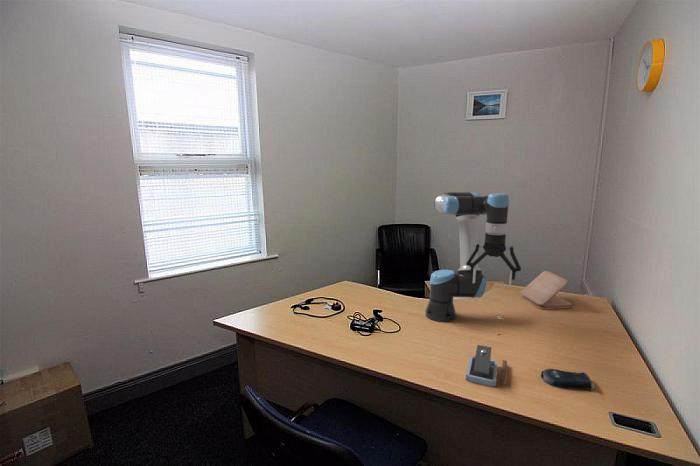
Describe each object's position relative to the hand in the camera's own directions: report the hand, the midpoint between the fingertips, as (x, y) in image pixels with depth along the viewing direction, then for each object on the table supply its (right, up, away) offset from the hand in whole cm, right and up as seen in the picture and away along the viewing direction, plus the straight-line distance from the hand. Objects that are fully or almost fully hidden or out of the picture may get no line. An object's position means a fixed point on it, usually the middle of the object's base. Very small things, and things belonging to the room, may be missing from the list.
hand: (491, 284), depth 146 cm
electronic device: (+19, -33, -17) cm, 42 cm away
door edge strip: (-1, -31, -13) cm, 34 cm away
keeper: (-8, -31, -12) cm, 34 cm away
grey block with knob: (-8, -31, -12) cm, 34 cm away
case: (+53, -18, +57) cm, 80 cm away
